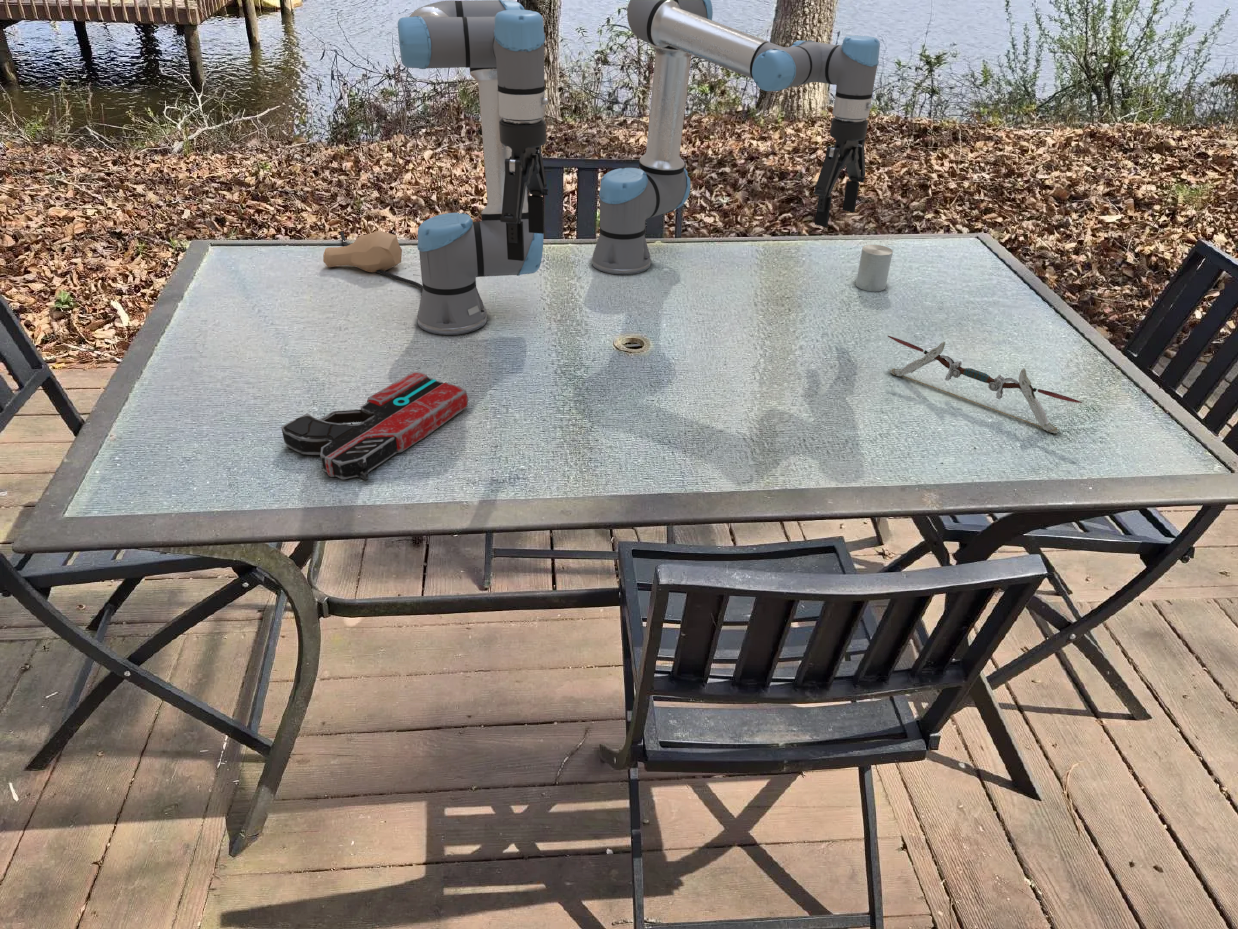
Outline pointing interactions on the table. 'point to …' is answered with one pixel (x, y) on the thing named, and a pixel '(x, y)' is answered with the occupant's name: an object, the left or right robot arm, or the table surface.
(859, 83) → the right robot arm
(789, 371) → the table surface
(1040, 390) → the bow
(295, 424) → the gun
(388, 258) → the squash
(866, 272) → the tin
